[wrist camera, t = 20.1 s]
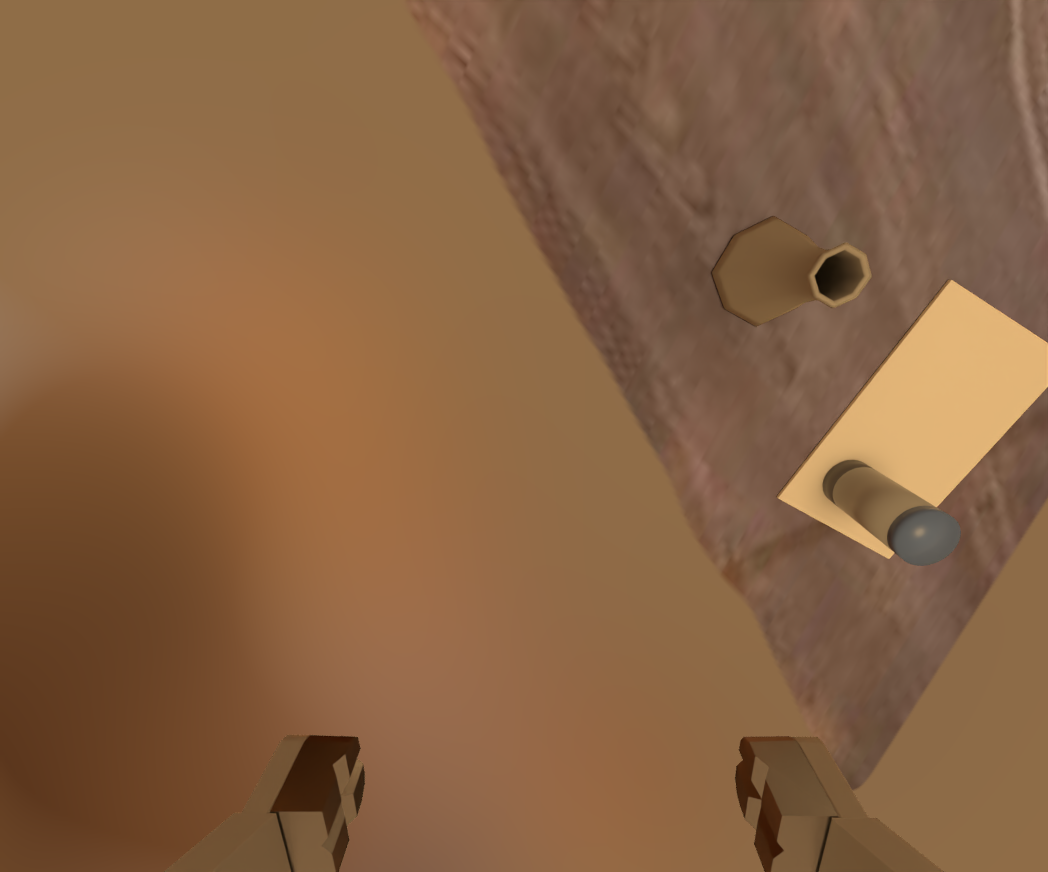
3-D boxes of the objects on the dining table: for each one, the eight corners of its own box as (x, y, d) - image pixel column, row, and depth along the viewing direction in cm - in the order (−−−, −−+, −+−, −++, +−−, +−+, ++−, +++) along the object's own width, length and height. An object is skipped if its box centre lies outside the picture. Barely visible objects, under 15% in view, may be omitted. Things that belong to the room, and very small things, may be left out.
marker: (844, 451, 40) (926, 502, 32) (882, 473, 41) (973, 528, 33) (812, 491, 42) (884, 550, 33) (850, 511, 42) (930, 574, 34)
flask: (775, 196, 35) (862, 171, 26) (833, 273, 37) (936, 276, 27) (692, 272, 37) (745, 275, 27) (752, 343, 38) (821, 368, 29)
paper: (948, 279, 36) (951, 279, 36) (1068, 358, 38) (1072, 359, 38) (776, 496, 42) (777, 498, 42) (886, 557, 44) (889, 559, 44)
